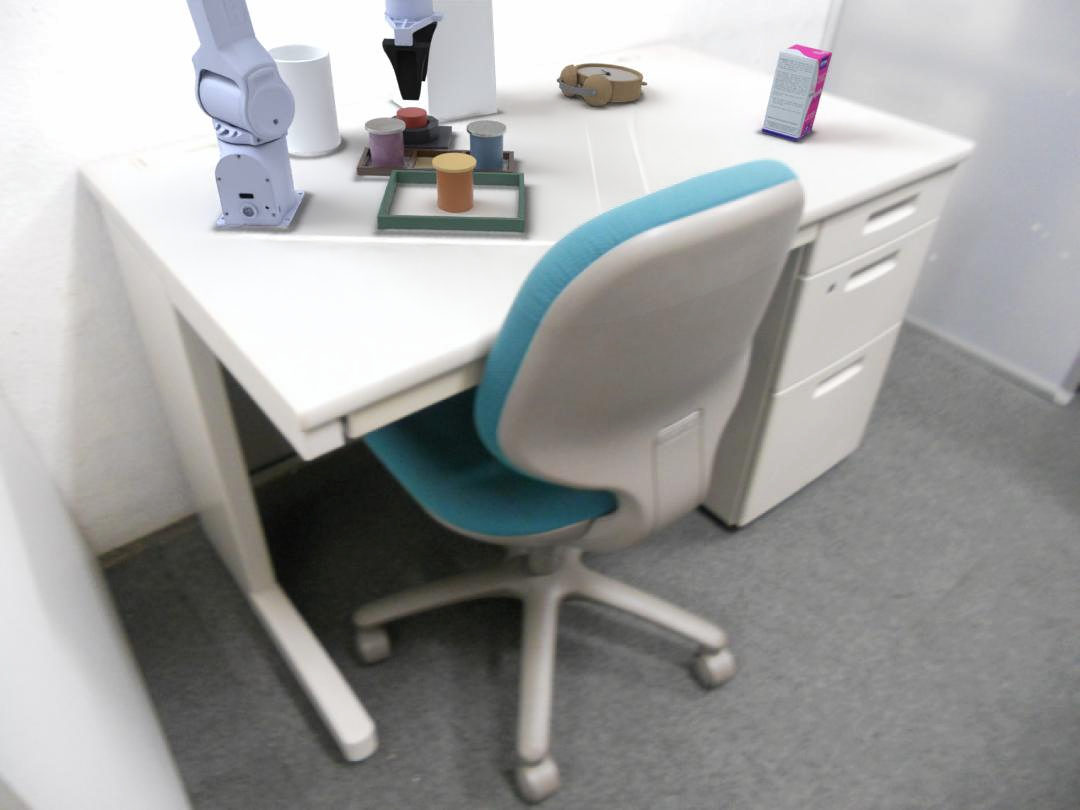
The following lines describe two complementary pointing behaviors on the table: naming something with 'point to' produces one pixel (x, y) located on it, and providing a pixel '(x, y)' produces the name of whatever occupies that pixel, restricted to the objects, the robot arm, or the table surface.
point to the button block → (427, 135)
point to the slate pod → (487, 143)
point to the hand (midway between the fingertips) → (414, 89)
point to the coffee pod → (454, 181)
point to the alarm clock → (601, 83)
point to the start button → (413, 117)
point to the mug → (309, 97)
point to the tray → (451, 221)
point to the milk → (458, 62)
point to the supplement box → (796, 92)
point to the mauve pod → (386, 142)
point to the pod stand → (421, 161)
